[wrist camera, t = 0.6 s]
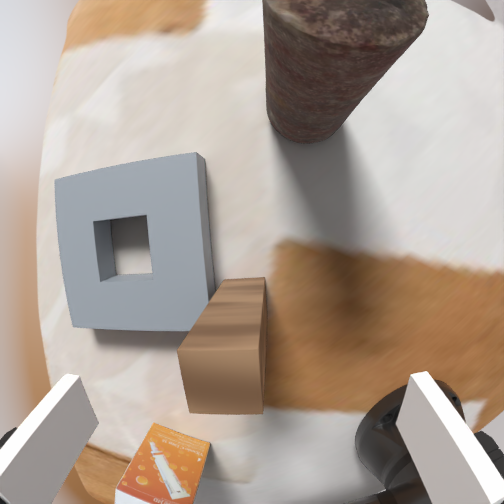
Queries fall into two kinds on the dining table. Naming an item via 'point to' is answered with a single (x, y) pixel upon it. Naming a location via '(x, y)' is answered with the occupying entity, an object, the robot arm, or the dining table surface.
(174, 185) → the socket
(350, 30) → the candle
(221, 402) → the peg
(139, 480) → the small box
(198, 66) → the dining table surface
